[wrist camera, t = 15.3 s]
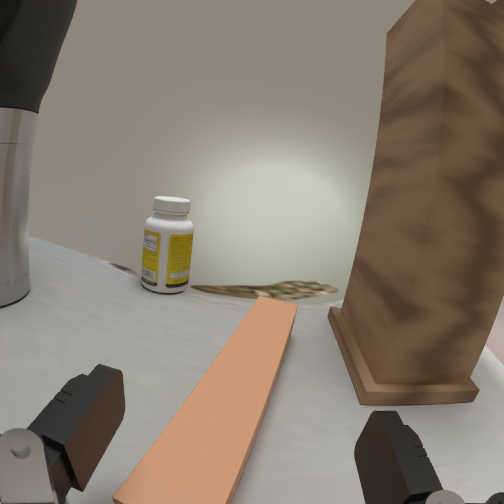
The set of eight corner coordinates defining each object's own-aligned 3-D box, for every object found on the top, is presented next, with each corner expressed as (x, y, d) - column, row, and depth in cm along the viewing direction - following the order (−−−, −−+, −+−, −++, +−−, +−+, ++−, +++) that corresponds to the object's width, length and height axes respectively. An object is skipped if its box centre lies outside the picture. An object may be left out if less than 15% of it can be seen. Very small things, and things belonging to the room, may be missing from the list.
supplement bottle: (190, 280, 38) (200, 199, 36) (184, 298, 33) (194, 204, 30) (147, 274, 37) (154, 193, 35) (135, 290, 32) (141, 197, 30)
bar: (125, 531, 8) (112, 497, 7) (253, 330, 29) (259, 295, 28) (203, 564, 7) (209, 539, 7) (289, 339, 28) (297, 304, 28)
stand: (360, 404, 19) (429, -52, 11) (327, 316, 34) (376, 20, 26) (473, 401, 19) (534, 12, 11) (412, 326, 34) (458, 52, 26)
